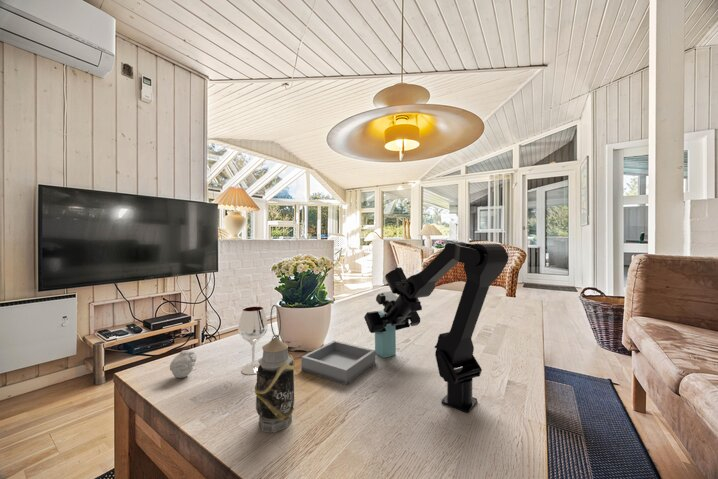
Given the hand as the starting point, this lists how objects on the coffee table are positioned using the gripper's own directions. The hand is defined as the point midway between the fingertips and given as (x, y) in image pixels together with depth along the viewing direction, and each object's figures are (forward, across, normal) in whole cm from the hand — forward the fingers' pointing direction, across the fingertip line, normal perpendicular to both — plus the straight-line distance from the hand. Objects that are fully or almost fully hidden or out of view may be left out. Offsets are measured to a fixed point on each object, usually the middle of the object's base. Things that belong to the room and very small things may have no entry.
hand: (383, 331), depth 100 cm
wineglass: (+10, +41, 0) cm, 42 cm away
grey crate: (+3, +18, +7) cm, 19 cm away
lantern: (-10, +41, +20) cm, 46 cm away
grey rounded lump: (+13, +59, -3) cm, 61 cm away
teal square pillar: (+4, 0, +6) cm, 7 cm away
